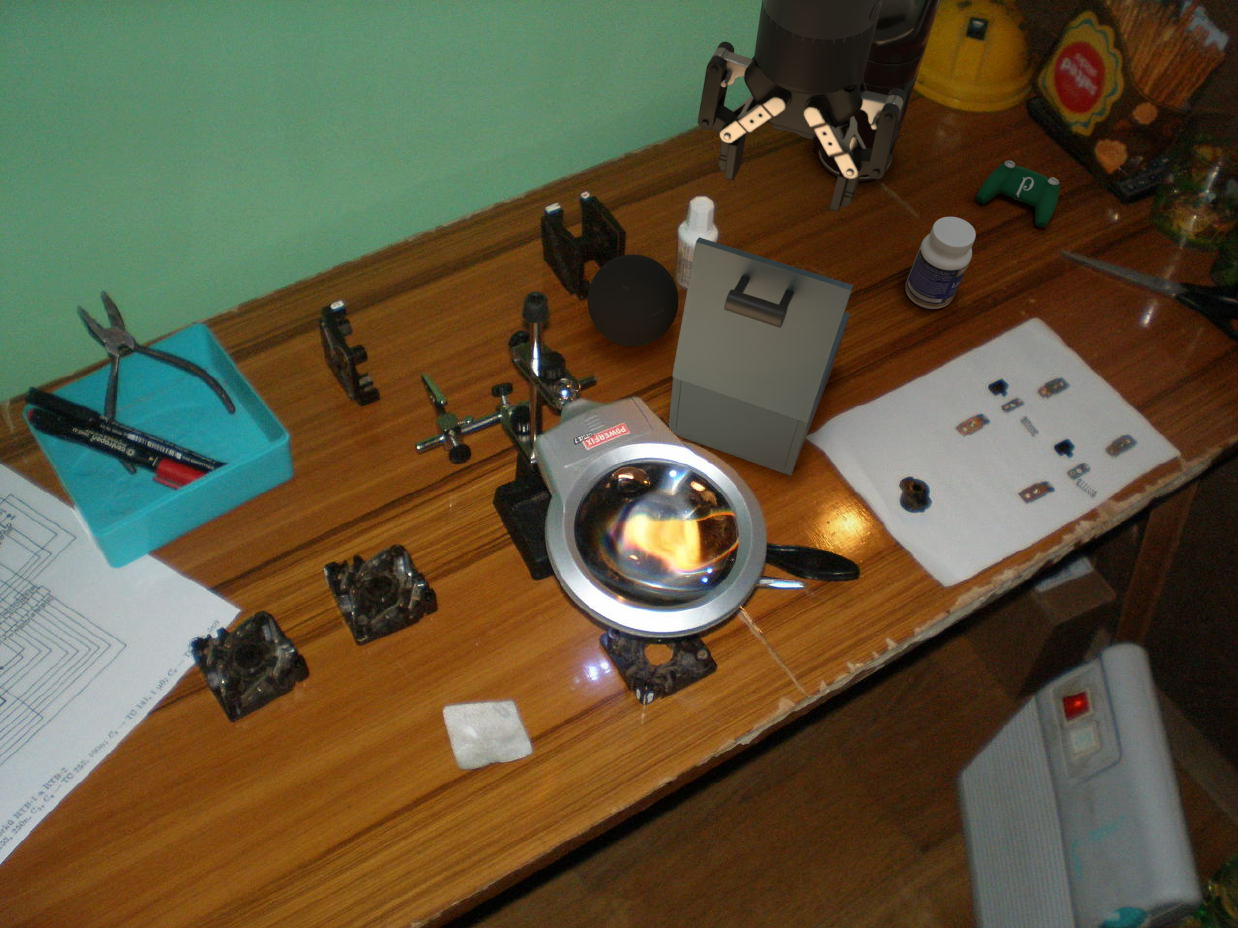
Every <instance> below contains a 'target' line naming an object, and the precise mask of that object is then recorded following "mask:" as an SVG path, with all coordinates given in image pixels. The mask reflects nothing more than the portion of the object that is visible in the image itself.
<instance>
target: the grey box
mask: <svg viewBox="0 0 1238 928" xmlns="http://www.w3.org/2000/svg"><path fill="white" fill-rule="evenodd" d="M850 316H851V313H850V312H846V311H845V313H844V316H843V319H842V322H841V325H840V328H839V331H838V334H837V337H836V340H835V343H834V346H833V349H832V352H831V355H830V358H829V361H828V364H827V367H826V370H825V373H824V376H823V379H822V382H821V385H820V388H819V391H818V394H817V397H816V401H815V404H814V407H813V410H812V413H811V416H810V419H809V421H808V423H806V422H803V421H800V420H797V419H794V418H792V417H789V416H786V415H783V414H780V413H777V412H774V411H771V410H768V409H765V408H762V407H759V406H757V405H754V404H751V403H748V402H745V401H742V400H739V399H736V398H733V397H730V396H727V395H725V394H722V393H719V392H716V391H713V390H710V389H707V388H704V387H701V386H698V385H695V384H692V383H690V382H687V381H684V380H681V379H678V378H675V377H672V386H671V397H670V405H669V406H670V407H669V417H668V426H669V427H670V428H671V429H672V431H673V432H674V433H675V434H676V435H675V436H677V437H679V438H683V439H685V440H688V441H691V442H694V443H696V444H699V445H702V446H705V447H707V448H711V449H714V450H717V451H719V452H722V453H724V454H727V455H730V456H734V457H736V458H738V459H742V460H745V461H747V462H750V463H753V464H755V465H758V466H760V467H761V466H762V467H764V468H767V469H769V470H770V469H771V470H772V471H776V472H778V473H781V474H784V475H787V476H790V477H792V475H793V473H794V470H795V468H796V465H797V462H798V460H799V457H800V454H801V452H802V449H803V447H804V443H805V441H806V438H807V436H808V434H809V431H810V429H811V426H812V423H813V421H814V418H815V415H816V413H817V410H818V408H819V405H820V403H821V400H822V397H823V394H824V392H825V390H826V387H827V384H828V383H829V379H830V376H831V374H832V371H833V368H834V365H835V362H836V359H837V356H838V353H839V349H840V347H841V344H842V341H843V339H844V334H845V331H846V328H847V326H848V322H849V320H850Z"/></svg>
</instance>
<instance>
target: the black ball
mask: <svg viewBox="0 0 1238 928" xmlns="http://www.w3.org/2000/svg"><path fill="white" fill-rule="evenodd" d="M679 299H680V298H679V291H678V287H677V283H676V282H675V279H674V277H673V276H672V274H671V273H670V271H669V270H668V269H667V268H666V266H664V265H663V264H662V263H660V262H659V261H657V260H656V259H654V258H652V257H650V256H647V255H643V254H635V253H634V254H633V253H632V254H631V253H630V254H623V255H620V256H617V257H614V258H613V259H611V260H609V261H607V262H606V263H605V264H603V265H602V266H600V268H599V269H598V270H597V271H596V273H595V274H594V276H593V278H592V280H591V282H590V284H589V287H588V291H587V300H586V301H587V311H588V314H589V317H590V320H591V321H592V323H593V325H594V326H595V329H596V330H597V331H598V332H599V333H600V334H601V335H602V336H603V337H604V338H605V339H607V340H608V341H610V342H612V343H614V344H615V345H619V346H623V347H628V348H629V347H631V348H636V347H642V346H647V345H650V344H652V343H654V342H656V341H658V340H659V339H660V338H661V337H663V336H664V335H665V334H666V333H667V332H668V331H669V330H670V328H671V326H672V325H673V323H674V321H675V320H676V318H677V317H676V316H677V314H678V310H679V304H680V303H679Z"/></svg>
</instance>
